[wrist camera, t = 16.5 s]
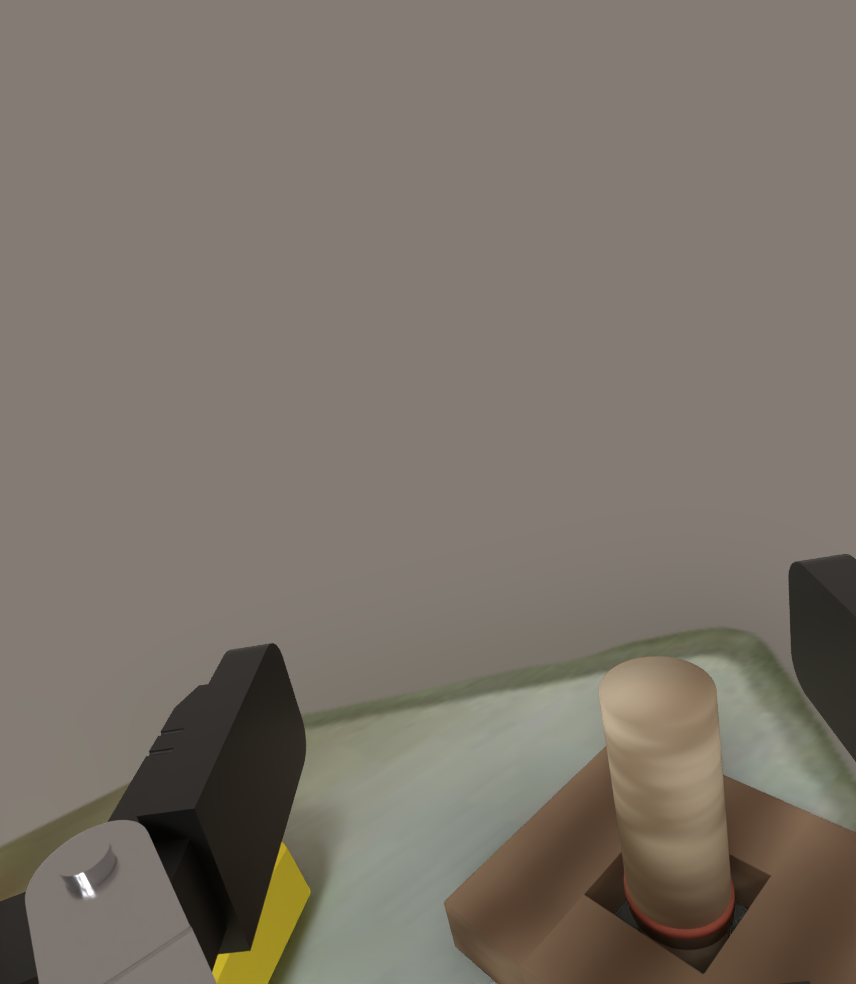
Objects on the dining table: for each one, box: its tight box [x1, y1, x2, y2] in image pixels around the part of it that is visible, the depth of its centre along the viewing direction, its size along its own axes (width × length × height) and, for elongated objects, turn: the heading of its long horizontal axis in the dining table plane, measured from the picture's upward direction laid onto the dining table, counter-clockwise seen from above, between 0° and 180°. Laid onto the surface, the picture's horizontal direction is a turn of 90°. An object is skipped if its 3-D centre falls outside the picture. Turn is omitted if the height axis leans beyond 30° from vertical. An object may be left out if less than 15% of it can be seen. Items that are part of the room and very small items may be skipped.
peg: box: [599, 656, 735, 974], centre depth 32 cm, size 5×5×14 cm
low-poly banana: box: [212, 842, 311, 984], centre depth 34 cm, size 18×7×8 cm
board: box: [444, 747, 856, 984], centre depth 34 cm, size 16×15×3 cm
